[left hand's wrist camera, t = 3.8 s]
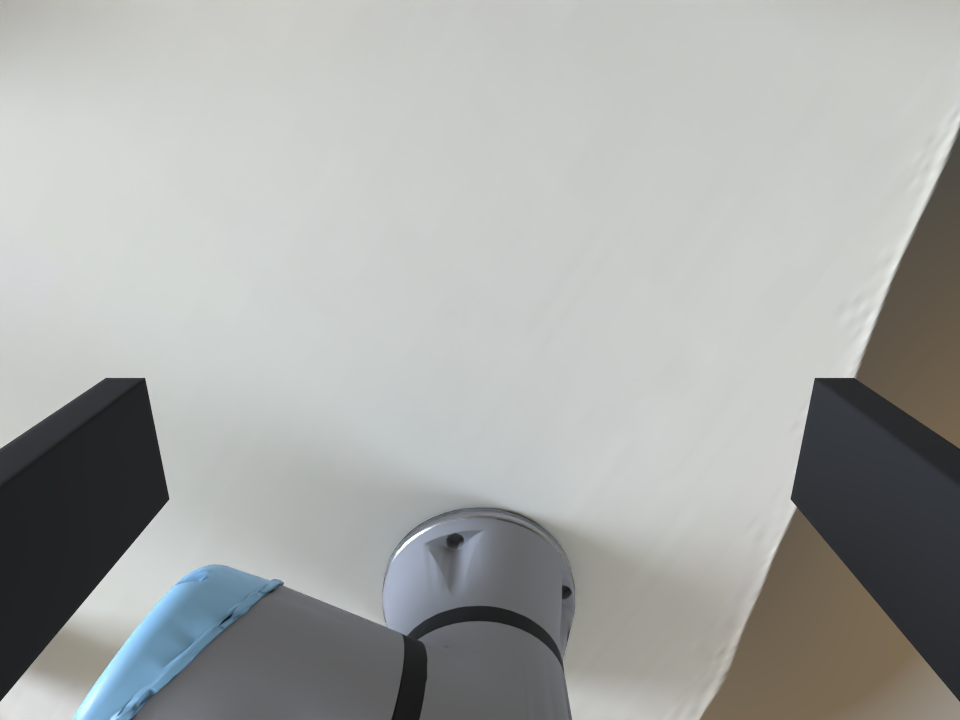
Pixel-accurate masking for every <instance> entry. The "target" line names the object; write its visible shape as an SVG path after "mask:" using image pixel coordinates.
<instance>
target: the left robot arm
mask: <svg viewBox="0 0 960 720" xmlns="http://www.w3.org/2000/svg"><path fill="white" fill-rule="evenodd" d="M168 500H169V495H168V490H167V485H166V480H165V475H164V470H163V465H162V460H161V455H160V450H159V445H158V440H157V435H156V430H155V425H154V420H153V415H152V410H151V405H150V400H149V395H148V390H147V385H146V380H145V378H105V379H104V380H102V381H101V382H99V383H98V384H96V385H95V386H93V387H92V388H90V389H89V390H87V391H86V392H84V393H83V394H81V395H80V396H79V397H77V398H76V399H74V400H73V401H71V402H70V403H68V404H67V405H65V406H64V407H62V408H61V409H59V410H58V411H56V412H55V413H53V414H52V415H50V416H49V417H47V418H46V419H44V420H43V421H41V422H40V423H38V424H37V425H35V426H34V427H32V428H31V429H29V430H28V431H26V432H25V433H23V434H22V435H20V436H19V437H17V438H16V439H14V440H13V441H11V442H10V443H8V444H7V445H5V446H4V447H2V448H1V449H0V701H1V700H2V699H3V698H4V696H5V695H6V694H7V693H8V692H9V690H10V689H11V688H12V687H13V686H14V684H15V683H16V682H17V681H18V680H19V678H20V677H21V676H22V675H23V674H24V672H25V671H26V670H27V669H28V668H29V666H30V665H31V664H32V663H33V662H34V661H35V659H36V658H37V657H38V656H39V655H40V653H41V652H42V651H43V650H44V649H45V647H46V646H47V645H48V644H49V643H50V641H51V640H52V639H53V638H54V637H55V635H56V634H57V633H58V632H59V631H60V629H61V628H62V627H63V626H64V625H65V623H66V622H67V621H68V620H69V619H70V617H71V616H72V615H73V614H74V613H75V611H76V610H77V609H78V608H79V607H80V605H81V604H82V603H83V602H84V601H85V599H86V598H87V597H88V596H89V595H90V593H91V592H92V591H93V590H94V589H95V588H96V586H97V585H98V584H99V583H100V582H101V580H102V579H103V578H104V577H105V576H106V574H107V573H108V572H109V571H110V570H111V568H112V567H113V566H114V565H115V564H116V562H117V561H118V560H119V559H120V558H121V556H122V555H123V554H124V553H125V552H126V550H127V549H128V548H129V547H130V546H131V544H132V543H133V542H134V541H135V540H136V538H137V537H138V536H139V535H140V534H141V532H142V531H143V530H144V529H145V528H146V526H147V525H148V524H149V523H150V522H151V520H152V519H153V518H154V517H155V516H156V515H157V513H158V512H159V511H160V510H161V509H162V507H163V506H164V505H165V504H166V503H167V501H168ZM791 500H792V501H793V503H794V504H795V505H796V506H797V507H798V509H799V510H800V511H801V512H802V513H803V514H804V516H805V517H806V518H807V519H808V520H809V522H810V523H811V524H812V525H813V526H814V528H815V529H816V530H817V531H818V532H819V534H820V535H821V536H822V537H823V538H824V540H825V541H826V542H827V543H828V544H829V546H830V547H831V548H832V549H833V550H834V552H835V553H836V554H837V555H838V556H839V558H840V559H841V560H842V561H843V562H844V563H845V565H846V566H847V567H848V568H849V570H850V571H851V572H852V573H853V574H854V576H855V577H856V578H857V579H858V580H859V581H860V583H861V584H862V585H863V586H864V587H865V589H866V590H867V591H868V592H869V593H870V595H871V596H872V597H873V598H874V599H875V601H876V602H877V603H878V604H879V605H880V607H881V608H882V609H883V610H884V611H885V613H886V614H887V615H888V616H889V617H890V619H891V620H892V621H893V622H894V623H895V625H896V626H897V627H898V628H899V629H900V631H901V632H902V633H903V634H904V635H905V637H906V638H907V639H908V640H909V641H910V643H911V644H912V645H913V646H914V647H915V648H916V650H917V651H918V652H919V653H920V655H921V656H922V657H923V658H924V659H925V661H926V662H927V663H928V664H929V665H930V666H931V668H932V669H933V670H934V671H935V672H936V674H937V675H938V676H939V677H940V678H941V680H942V681H943V682H944V683H945V684H946V686H947V687H948V688H949V689H950V690H951V692H952V693H953V694H954V695H955V696H956V698H957V699H958V700H959V701H960V449H959V448H958V447H956V446H955V445H953V444H952V443H950V442H949V441H947V440H946V439H944V438H943V437H941V436H940V435H938V434H937V433H935V432H934V431H932V430H931V429H929V428H928V427H926V426H925V425H923V424H922V423H920V422H919V421H917V420H916V419H914V418H913V417H911V416H910V415H908V414H907V413H905V412H904V411H902V410H901V409H899V408H898V407H896V406H895V405H893V404H892V403H890V402H889V401H887V400H886V399H884V398H883V397H881V396H880V395H878V394H877V393H875V392H874V391H872V390H871V389H869V388H868V387H867V386H865V385H864V384H862V383H861V382H859V381H858V380H856V379H855V378H815V380H814V385H813V390H812V395H811V400H810V405H809V410H808V415H807V420H806V425H805V430H804V435H803V440H802V445H801V450H800V455H799V460H798V465H797V470H796V475H795V480H794V485H793V490H792V495H791ZM283 584H284V582H282V581H280V580H278V579H274V580H271V581H269V580H266V579H263V578H260V577H257V576H254V575H252V574H249V573H246V572H243V571H240V570H237V569H234V568H231V567H228V566H224V565H208V566H204V567H201V568H199V569H196V570H194V571H192V572H191V573H189V574H188V575H186V576H185V577H183V578H182V579H181V580H180V581H179V582H177V583H176V584H175V585H174V586H173V587H172V588H171V589H170V590H169V591H168V592H167V593H166V594H165V595H164V596H163V598H162V599H161V600H160V601H159V602H158V603H157V604H156V605H155V607H154V608H153V609H152V610H151V611H150V612H149V614H148V615H147V616H146V617H145V618H144V620H143V621H142V622H141V623H140V625H139V626H138V627H137V628H136V629H135V631H134V632H133V633H132V634H131V636H130V637H129V638H128V640H127V641H126V642H125V644H124V645H123V646H122V647H121V649H120V650H119V651H118V653H117V654H116V655H115V657H114V658H113V659H112V661H111V662H110V664H109V665H108V666H107V668H106V669H105V670H104V672H103V673H102V675H101V676H100V677H99V679H98V680H97V682H96V683H95V685H94V686H93V687H92V689H91V690H90V692H89V693H88V695H87V696H86V698H85V699H84V701H83V702H82V704H81V705H80V707H79V709H78V710H77V712H76V713H75V716H74V720H572V716H571V710H570V705H569V699H568V692H567V686H566V680H565V675H564V668H563V658H564V654H565V650H566V646H567V642H568V638H569V633H570V629H571V625H572V621H573V617H574V611H575V586H574V581H573V576H572V571H571V567H570V564H569V561H568V559H567V557H566V555H565V553H564V551H563V549H562V548H561V546H560V545H559V544H558V542H557V541H556V540H555V539H554V538H553V537H552V536H551V535H550V534H549V533H548V532H547V531H545V530H544V529H543V528H542V527H540V526H539V525H537V524H536V523H534V522H532V521H530V520H529V519H526V518H524V517H522V516H520V515H517V514H514V513H511V512H507V511H503V510H497V509H490V508H468V509H460V510H455V511H451V512H447V513H444V514H441V515H438V516H435V517H433V518H431V519H429V520H427V521H425V522H424V523H422V524H420V525H419V526H417V527H416V528H415V529H413V530H412V531H411V532H410V533H409V534H408V535H406V536H405V538H404V539H403V540H402V541H401V542H400V543H399V545H398V546H397V547H396V549H395V550H394V552H393V554H392V556H391V558H390V560H389V563H388V566H387V570H386V574H385V579H384V584H383V596H382V597H383V614H384V618H385V622H386V625H387V627H385V626H382V625H380V624H377V623H375V622H372V621H370V620H367V619H365V618H362V617H360V616H357V615H355V614H352V613H350V612H347V611H345V610H342V609H340V608H337V607H335V606H332V605H330V604H327V603H325V602H322V601H320V600H317V599H315V598H312V597H310V596H307V595H305V594H302V593H300V592H297V591H295V590H292V589H290V588H287V587H285V586H283ZM571 630H572V629H571ZM570 634H571V633H570ZM568 643H569V642H568ZM567 647H568V646H567ZM566 652H567V651H566ZM565 656H566V655H565Z"/></svg>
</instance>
